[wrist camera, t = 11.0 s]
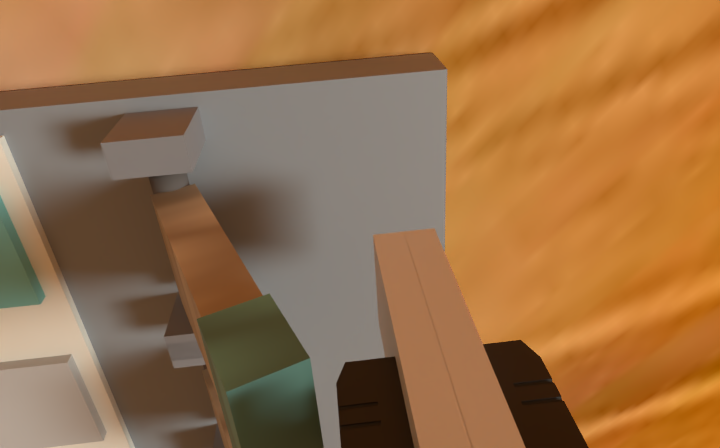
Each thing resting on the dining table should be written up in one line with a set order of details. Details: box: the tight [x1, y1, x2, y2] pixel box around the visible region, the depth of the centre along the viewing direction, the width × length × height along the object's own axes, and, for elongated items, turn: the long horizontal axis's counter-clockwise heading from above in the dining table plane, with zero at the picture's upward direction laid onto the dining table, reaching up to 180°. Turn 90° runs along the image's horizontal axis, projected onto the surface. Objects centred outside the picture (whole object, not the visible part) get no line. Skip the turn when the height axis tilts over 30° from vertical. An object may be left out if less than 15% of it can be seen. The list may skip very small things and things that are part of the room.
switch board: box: [0, 53, 447, 448], centre depth 20 cm, size 18×21×4 cm
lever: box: [149, 173, 324, 448], centre depth 13 cm, size 1×4×9 cm, turn 4°
